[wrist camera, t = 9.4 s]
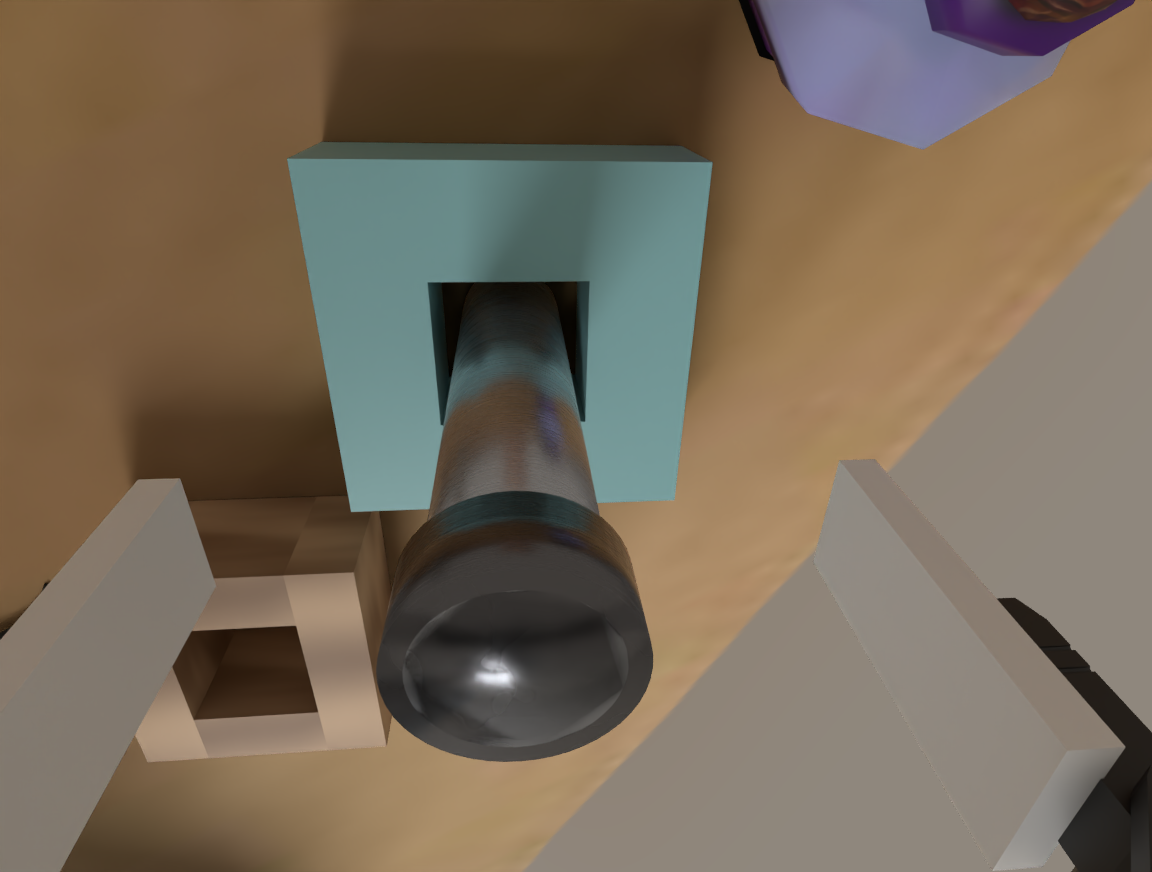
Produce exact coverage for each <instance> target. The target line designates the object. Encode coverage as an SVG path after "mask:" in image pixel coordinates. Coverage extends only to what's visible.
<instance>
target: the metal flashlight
mask: <svg viewBox="0 0 1152 872" xmlns="http://www.w3.org/2000/svg"><path fill="white" fill-rule="evenodd" d="M652 669H653V651H652V646H651V641H650V637H649V632H648V628H647V624H646V620H645V616H644V612H643V608H642V604H641V600H640V596H639V592H638V588H637V584H636V580H635V575H634V571H633V567H632V563H631V559H630V557H629V554H628V551H627V548H626V547H625V545H624V543H623V541H622V539H621V538H620V536H619V535H618V534H617V533H616V531H615V530H614V529H613V528H612V527H611V526H610V525H609V524H608V523H607V522H606V521H605V520H604V519H603V518H602V517H600V515H599V510H598V505H597V500H596V495H595V490H594V485H593V480H592V475H591V470H590V465H589V460H588V455H587V450H586V446H585V441H584V436H583V431H582V426H581V421H580V416H579V411H578V406H577V401H576V396H575V391H574V386H573V381H572V376H571V371H570V366H569V361H568V356H567V352H566V347H565V342H564V337H563V332H562V327H561V322H560V317H559V312H558V307H557V302H556V300H555V297H554V295H553V293H552V291H551V290H550V288H549V287H548V286H547V284H546V283H545V282H475V283H474V285H473V286H472V287H471V289H470V290H469V292H468V294H467V296H466V298H465V302H464V306H463V312H462V318H461V324H460V330H459V336H458V342H457V348H456V354H455V360H454V366H453V372H452V378H451V384H450V390H449V395H448V401H447V407H446V413H445V419H444V425H443V431H442V437H441V443H440V449H439V455H438V461H437V467H436V473H435V479H434V485H433V491H432V496H431V502H430V508H429V514H428V520H427V522H426V523H425V524H424V525H423V526H422V527H421V528H420V529H419V530H418V531H417V532H416V533H415V534H414V535H413V536H412V538H411V539H410V541H409V542H408V543H407V545H406V546H405V548H404V550H403V552H402V554H401V556H400V559H399V562H398V565H397V569H396V573H395V577H394V582H393V587H392V591H391V596H390V601H389V606H388V610H387V615H386V620H385V624H384V629H383V634H382V638H381V643H380V648H379V653H378V657H377V666H376V676H377V685H378V688H379V692H380V695H381V697H382V699H383V701H384V703H385V705H386V707H387V709H388V710H389V712H390V713H391V714H392V716H393V717H394V718H395V719H396V720H397V721H398V722H399V723H400V724H401V725H402V726H403V727H404V728H405V729H406V730H407V731H409V732H410V733H411V734H413V735H414V736H415V737H417V738H419V739H420V740H422V741H424V742H425V743H427V744H429V745H431V746H434V747H436V748H438V749H440V750H443V751H446V752H449V753H452V754H455V755H459V756H463V757H467V758H471V759H479V760H486V761H501V762H509V761H526V760H535V759H541V758H546V757H551V756H555V755H559V754H562V753H566V752H569V751H572V750H574V749H577V748H580V747H582V746H584V745H586V744H588V743H590V742H593V741H595V740H597V739H598V738H600V737H601V736H603V735H605V734H606V733H608V732H610V731H611V730H612V729H613V728H615V727H616V726H617V725H619V724H620V723H621V722H622V721H623V720H624V719H625V718H626V717H627V716H628V715H629V714H630V713H631V712H632V711H633V710H634V708H635V707H636V706H637V705H638V703H639V702H640V700H641V698H642V697H643V695H644V693H645V692H646V689H647V687H648V684H649V682H650V679H651V674H652Z"/></svg>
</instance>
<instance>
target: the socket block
mask: <svg viewBox="0 0 1152 872" xmlns="http://www.w3.org/2000/svg"><path fill="white" fill-rule="evenodd" d="M287 161H288V166H289V172H290V177H291V183H292V188H293V194H294V200H295V205H296V211H297V216H298V222H299V227H300V233H301V238H302V244H303V249H304V255H305V260H306V266H307V271H308V277H309V282H310V288H311V293H312V299H313V304H314V310H315V315H316V321H317V326H318V332H319V337H320V343H321V349H322V354H323V360H324V365H325V371H326V376H327V382H328V387H329V393H330V398H331V404H332V409H333V415H334V420H335V426H336V431H337V437H338V442H339V448H340V453H341V459H342V464H343V470H344V475H345V481H346V486H347V492H348V498H349V503H350V509H351V512H363V511H390V510H418V509H429V508H430V502H431V496H432V491H433V485H434V479H435V473H436V467H437V461H438V455H439V449H440V443H441V437H442V431H443V425H444V419H445V413H446V407H447V401H448V395H449V390H450V384H451V378H452V377H449V368H448V356H447V344H446V331H445V319H444V307H443V294H442V282H551V281H577V312H576V359H575V374H571V376H572V381H573V386H574V391H575V396H576V401H577V406H578V411H579V416H580V421H581V426H582V431H583V436H584V441H585V446H586V450H587V455H588V460H589V465H590V470H591V475H592V480H593V485H594V490H595V495H596V500H597V503H608V502H635V501H662V500H674V499H675V490H676V481H677V472H678V463H679V455H680V446H681V437H682V428H683V419H684V411H685V402H686V393H687V384H688V375H689V366H690V358H691V349H692V340H693V331H694V322H695V313H696V305H697V296H698V287H699V278H700V269H701V260H702V252H703V243H704V234H705V225H706V216H707V207H708V199H709V190H710V181H711V172H712V163H713V162H711V161H709V160H707V159H705V158H703V157H702V156H700V155H698V154H696V153H694V152H692V151H690V150H688V149H686V148H685V147H683V146H650V145H558V144H467V143H375V142H320V143H318V144H316V145H314V146H312V147H310V148H308V149H306V150H304V151H302V152H300V153H298V154H296V155H294V156H292V157H289V158H287Z"/></svg>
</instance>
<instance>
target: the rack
mask: <svg viewBox="0 0 1152 872" xmlns="http://www.w3.org/2000/svg"><path fill="white" fill-rule="evenodd" d="M188 504H189V507H190V509H191V512H192V515H193V518H194V521H195V524H196V527H197V530H198V533H199V536H200V539H201V542H202V545H203V548H204V551H205V554H206V557H207V560H208V563H209V566H210V569H211V572H212V575H213V578H214V581H215V584H216V587H215V589H214V591H213V593H212V595H211V596H210V598H209V600H208V602H207V604H206V606H205V607H204V609H203V611H202V613H201V615H200V616H199V618H198V620H197V622H196V624H195V626H194V627H193V629H192V631H191V633H190V635H189V637H188V638H187V640H186V642H185V644H184V646H183V648H182V649H181V651H180V653H179V655H178V657H177V659H176V660H175V662H174V664H173V666H172V668H171V670H170V671H169V673H168V675H167V677H166V679H165V681H164V682H163V684H162V686H161V688H160V690H159V692H158V693H157V695H156V697H155V699H154V701H153V703H152V704H151V706H150V708H149V710H148V712H147V713H146V715H145V717H144V719H143V721H142V723H141V724H140V726H139V728H138V730H137V732H136V734H135V736H136V738H137V740H138V743H139V745H140V747H141V749H142V751H143V753H144V755H145V757H146V759H147V761H148V762H161V761H176V760H191V759H205V758H220V757H235V756H250V755H265V754H280V753H295V752H309V751H324V750H339V749H354V748H369V747H384V746H387V741H388V735H389V729H390V724H391V718H392V714H391V713H390V712H389V710H388V709H387V707H386V705H385V703H384V701H383V699H382V697H381V695H380V692H379V688H378V685H377V676H376V666H377V657H378V653H379V648H380V643H381V638H382V634H383V629H384V624H385V620H386V615H387V610H388V606H389V601H390V596H391V584H390V578H389V572H388V565H387V559H386V552H385V546H384V539H383V533H382V527H381V520H380V514H379V511H363V512H351V509H350V503H349V498H348V496H319V497H290V498H262V499H233V500H204V501H188ZM278 626H296V627H279V628H260V629H240V630H236V629H239V628H259V627H278Z"/></svg>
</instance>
